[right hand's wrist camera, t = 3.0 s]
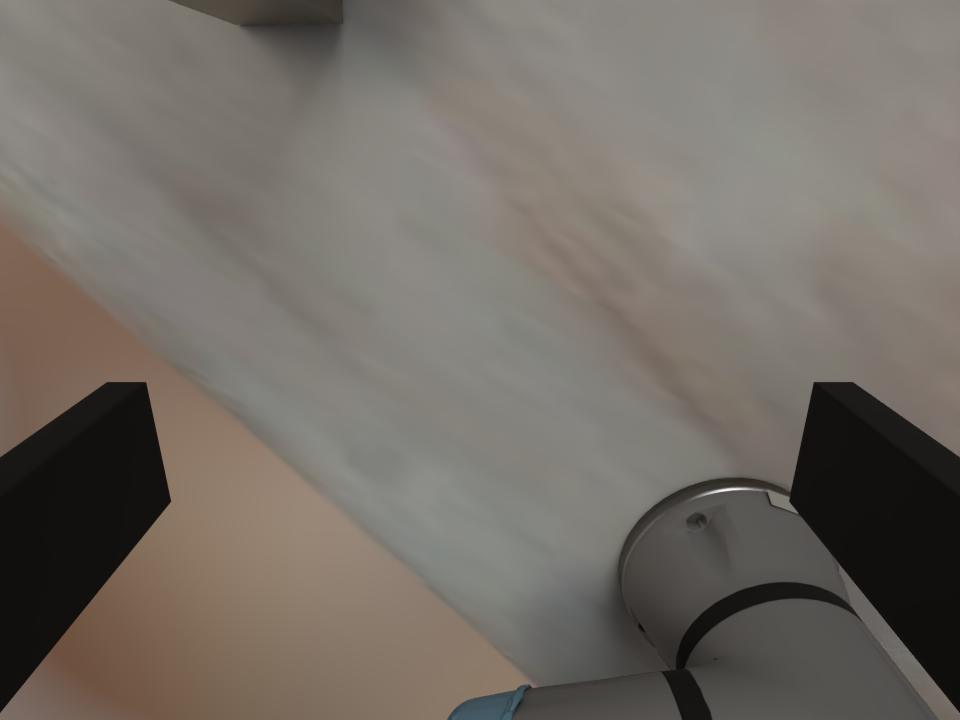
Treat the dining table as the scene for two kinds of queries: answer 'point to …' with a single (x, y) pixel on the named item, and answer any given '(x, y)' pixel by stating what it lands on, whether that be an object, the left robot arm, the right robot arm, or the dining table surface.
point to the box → (270, 11)
